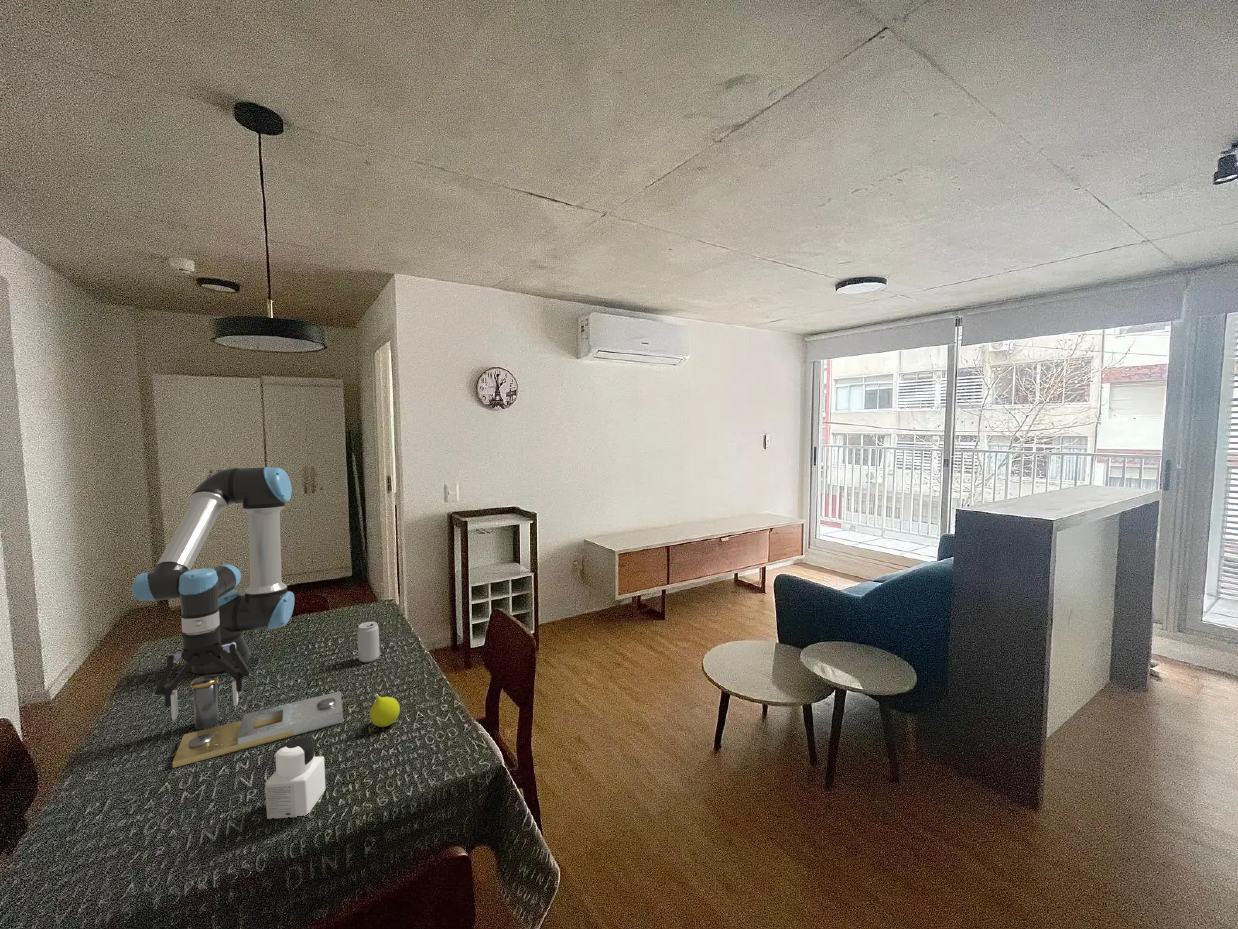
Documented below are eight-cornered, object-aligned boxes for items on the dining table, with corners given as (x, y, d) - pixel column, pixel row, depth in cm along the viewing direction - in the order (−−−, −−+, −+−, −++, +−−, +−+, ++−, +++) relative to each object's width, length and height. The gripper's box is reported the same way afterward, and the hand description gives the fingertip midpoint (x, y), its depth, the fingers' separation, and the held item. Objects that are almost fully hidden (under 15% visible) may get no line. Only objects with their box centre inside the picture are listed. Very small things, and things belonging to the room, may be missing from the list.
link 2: (244, 725, 131) (243, 712, 130) (341, 701, 142) (340, 689, 142) (238, 750, 120) (237, 736, 120) (343, 722, 132) (342, 709, 132)
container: (288, 792, 107) (285, 733, 106) (326, 789, 107) (323, 731, 107) (266, 820, 99) (262, 757, 98) (307, 817, 100) (304, 755, 99)
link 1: (184, 740, 124) (183, 732, 124) (295, 712, 137) (294, 705, 136) (172, 768, 114) (172, 759, 114) (293, 735, 126) (293, 727, 126)
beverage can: (371, 664, 165) (369, 629, 164) (354, 662, 166) (352, 627, 165) (383, 655, 171) (382, 621, 170) (367, 654, 172) (366, 620, 171)
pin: (195, 721, 132) (192, 678, 132) (222, 715, 135) (219, 672, 134) (191, 732, 128) (188, 687, 127) (219, 726, 130) (216, 681, 130)
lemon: (364, 729, 129) (362, 692, 128) (385, 714, 136) (384, 679, 135) (384, 735, 126) (383, 697, 126) (406, 720, 133) (405, 684, 132)
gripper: (134, 645, 120) (140, 731, 122) (256, 625, 133) (261, 703, 134) (143, 634, 127) (149, 716, 128) (259, 616, 139) (263, 691, 141)
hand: (206, 710), depth 131 cm, fingers open, 12 cm apart
